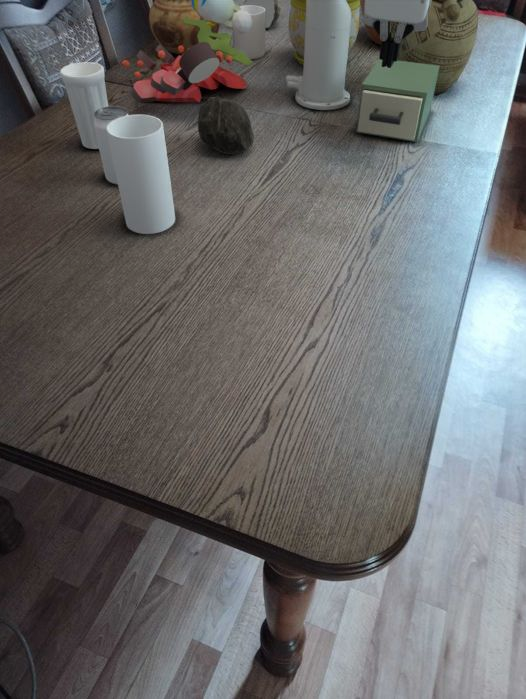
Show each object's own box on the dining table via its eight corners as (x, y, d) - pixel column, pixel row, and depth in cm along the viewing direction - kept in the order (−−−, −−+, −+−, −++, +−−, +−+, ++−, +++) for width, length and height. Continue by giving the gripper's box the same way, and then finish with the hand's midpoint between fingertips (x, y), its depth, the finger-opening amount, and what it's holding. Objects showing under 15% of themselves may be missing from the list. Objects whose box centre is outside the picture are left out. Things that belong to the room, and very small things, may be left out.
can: (133, 187, 100) (121, 121, 91) (100, 183, 101) (84, 118, 92) (146, 170, 104) (135, 106, 96) (113, 167, 105) (100, 103, 96)
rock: (248, 159, 105) (241, 103, 99) (194, 160, 108) (184, 106, 102) (262, 141, 113) (256, 89, 107) (210, 143, 116) (202, 92, 110)
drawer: (409, 149, 108) (417, 109, 102) (352, 140, 111) (356, 100, 105) (425, 112, 120) (433, 74, 115) (373, 104, 123) (379, 67, 117)
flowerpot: (369, 63, 144) (378, -10, 132) (315, 78, 137) (320, 2, 125) (326, 45, 154) (331, -24, 143) (273, 57, 147) (274, -14, 136)
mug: (267, 45, 154) (267, 1, 146) (264, 60, 146) (264, 14, 138) (236, 45, 155) (235, 1, 147) (232, 59, 146) (230, 14, 138)
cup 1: (70, 149, 110) (50, 74, 100) (92, 132, 116) (75, 59, 105) (105, 155, 108) (88, 79, 98) (126, 138, 114) (112, 64, 103)
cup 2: (153, 239, 88) (137, 143, 77) (115, 224, 91) (94, 129, 80) (185, 216, 93) (174, 122, 82) (147, 202, 96) (132, 110, 85)
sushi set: (185, 138, 116) (89, 75, 116) (228, 139, 143) (150, 88, 143) (251, -1, 104) (145, -71, 104) (284, 29, 131) (200, -26, 131)
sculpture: (254, 31, 180) (289, 17, 176) (246, 38, 165) (283, 23, 162) (243, -7, 174) (278, -22, 170) (232, -3, 159) (270, -20, 156)
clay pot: (212, 53, 141) (177, -35, 129) (156, 74, 150) (118, -6, 138) (240, 31, 153) (209, -52, 141) (186, 51, 162) (154, -25, 151)
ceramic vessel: (376, 68, 142) (397, -78, 120) (460, 74, 139) (497, -75, 117) (371, 96, 129) (393, -61, 107) (464, 104, 126) (506, -57, 104)
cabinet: (416, 142, 112) (427, 93, 105) (355, 132, 115) (361, 83, 108) (429, 112, 122) (439, 65, 115) (373, 104, 126) (379, 58, 119)
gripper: (463, -68, 82) (434, 63, 96) (365, -75, 86) (351, 52, 99) (456, -57, 77) (427, 79, 91) (353, -66, 81) (340, 66, 94)
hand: (387, 64), depth 95 cm, fingers closed
